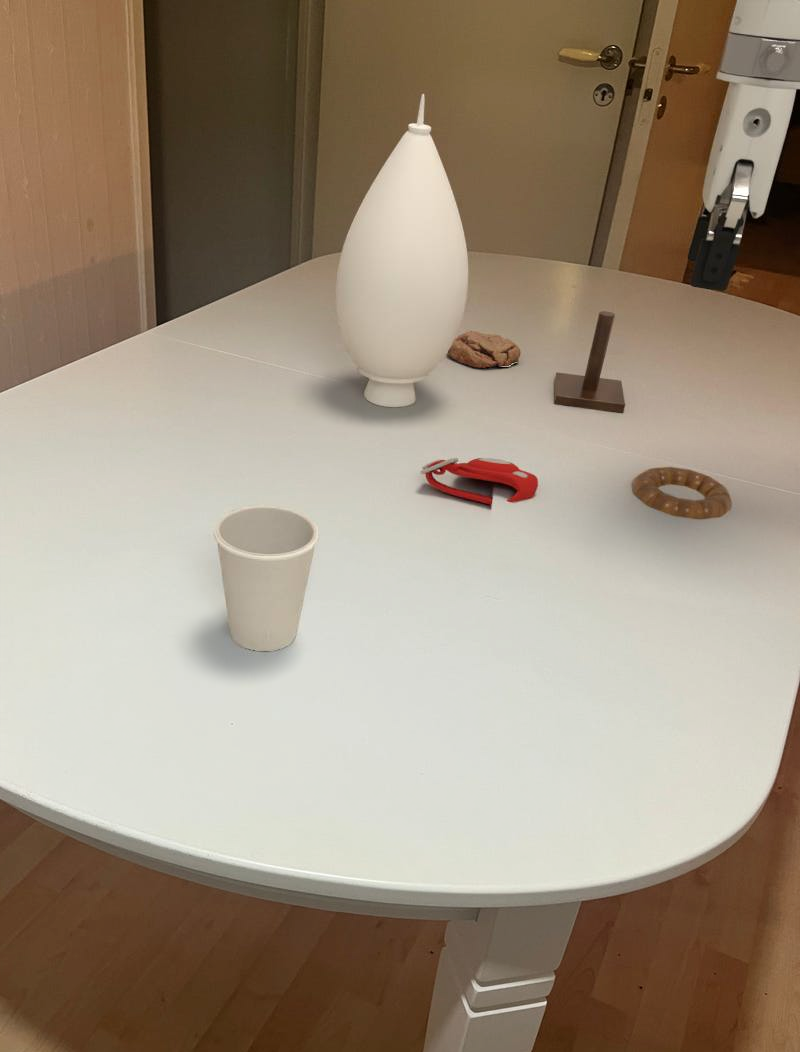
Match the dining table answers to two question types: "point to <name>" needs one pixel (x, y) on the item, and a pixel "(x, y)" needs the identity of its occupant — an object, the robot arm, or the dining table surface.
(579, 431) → the dining table surface
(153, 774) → the dining table surface
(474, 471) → the tracker holder
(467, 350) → the cookie
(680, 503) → the ring
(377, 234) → the lamp
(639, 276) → the dining table surface
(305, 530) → the dixie cup
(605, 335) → the peg
